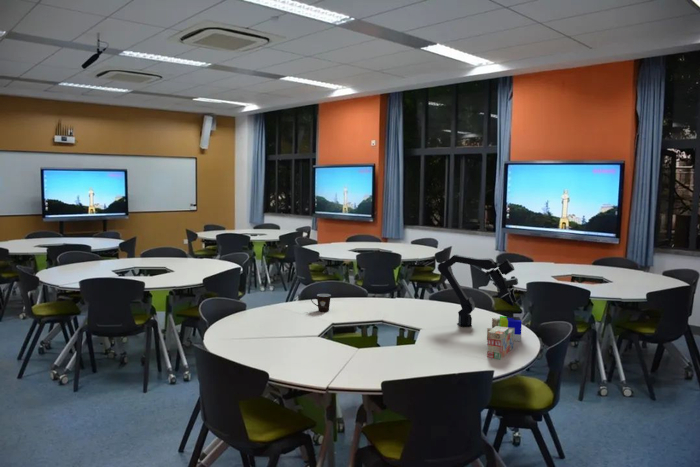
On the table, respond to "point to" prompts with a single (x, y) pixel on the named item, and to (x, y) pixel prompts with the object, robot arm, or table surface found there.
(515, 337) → the puzzle toy
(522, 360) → the table surface
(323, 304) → the coffee mug
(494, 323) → the numbered block 1
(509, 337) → the stack of blocks
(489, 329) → the numbered block 2
